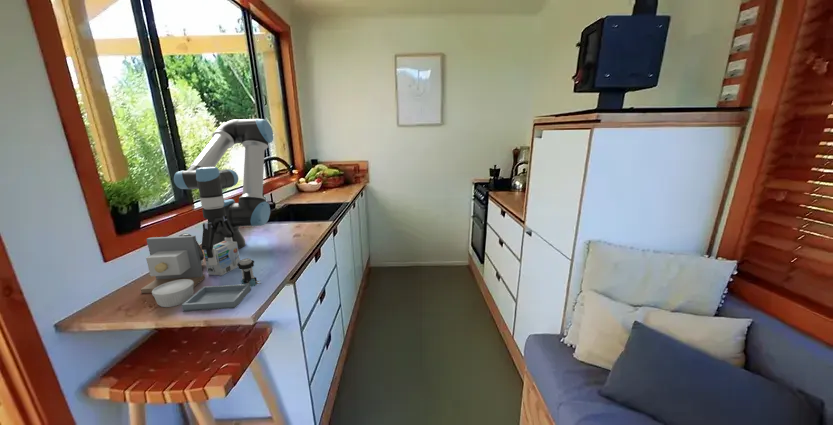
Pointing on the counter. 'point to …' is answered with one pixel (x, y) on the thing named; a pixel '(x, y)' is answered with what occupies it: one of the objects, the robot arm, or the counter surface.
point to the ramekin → (173, 292)
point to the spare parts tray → (217, 297)
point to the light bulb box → (224, 258)
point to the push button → (247, 272)
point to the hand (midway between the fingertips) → (222, 258)
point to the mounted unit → (173, 260)
